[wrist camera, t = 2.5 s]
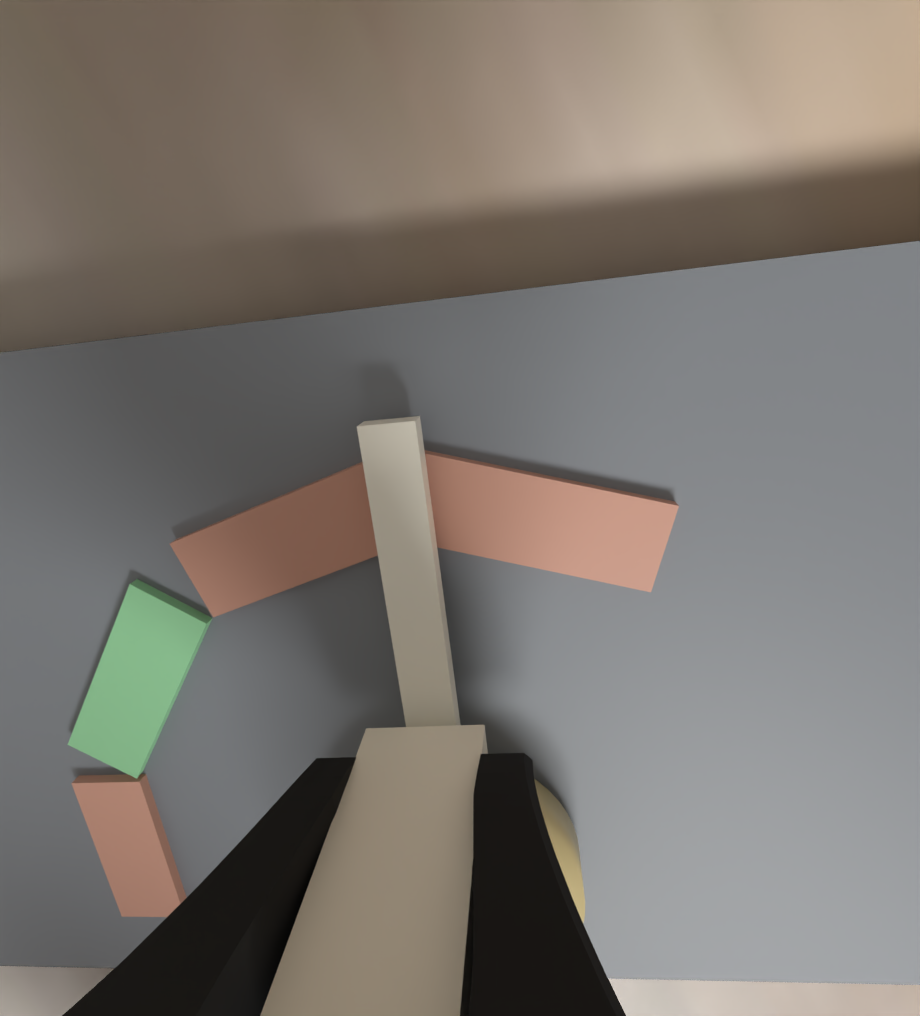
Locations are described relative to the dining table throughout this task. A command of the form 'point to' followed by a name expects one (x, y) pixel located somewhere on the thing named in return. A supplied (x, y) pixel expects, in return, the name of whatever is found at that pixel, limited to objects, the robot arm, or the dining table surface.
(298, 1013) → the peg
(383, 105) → the dining table surface
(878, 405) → the tuner board
